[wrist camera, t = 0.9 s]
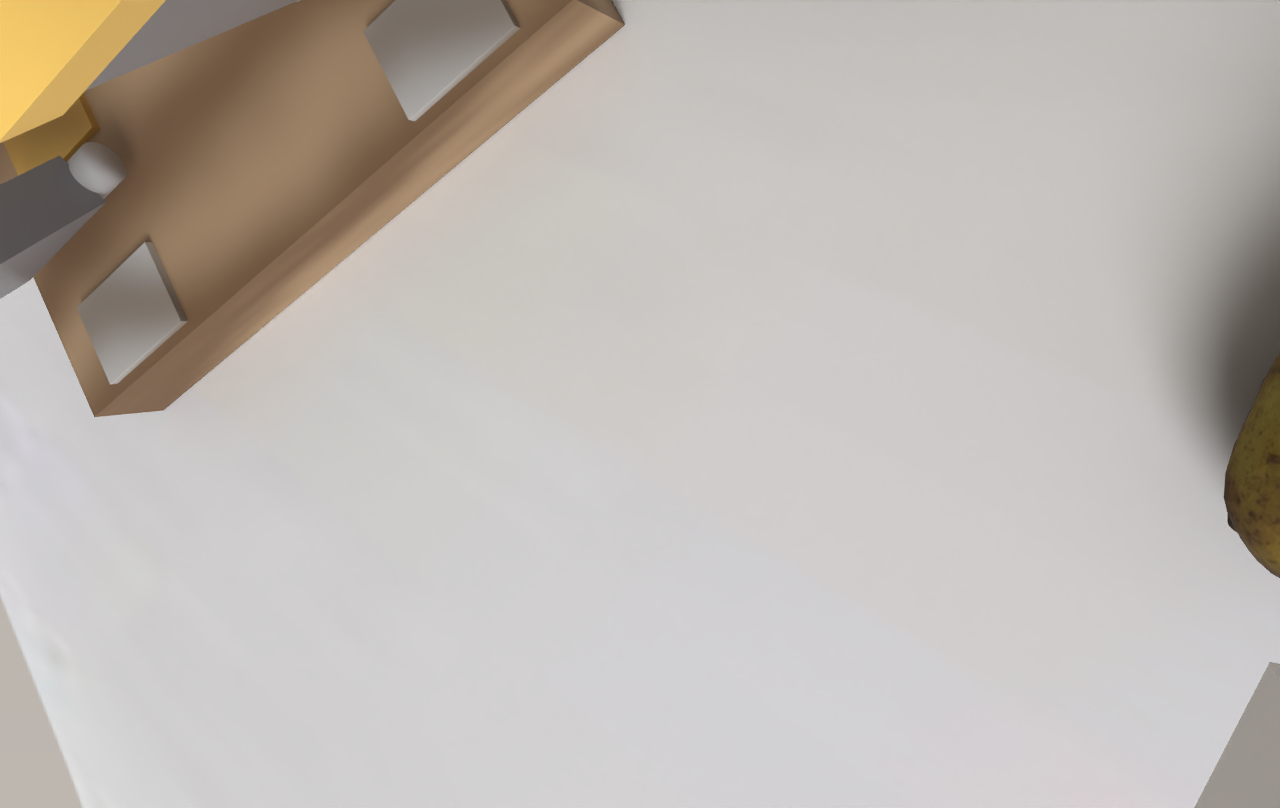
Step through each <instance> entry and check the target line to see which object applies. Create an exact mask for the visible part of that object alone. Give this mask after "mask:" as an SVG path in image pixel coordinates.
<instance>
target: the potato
mask: <svg viewBox="0 0 1280 808" xmlns="http://www.w3.org/2000/svg"><path fill="white" fill-rule="evenodd" d="M1224 500H1225V504H1226V508H1227V512H1228V524H1229V526H1230V527H1231V528H1232V529H1233V530H1234V531H1236V532H1237V533H1238V534H1239V536H1240V538H1241V539H1242V541H1243V542H1244V544H1245V545H1246V547H1247V548H1248V550H1249V551H1250V552H1251V554H1252V555H1253V556H1254V557H1255V558H1256V560H1257V561H1258V562H1260V563H1261V564H1262V565H1263V566H1264V567H1265V568H1266V569H1267V570H1268V571H1270V572H1271V573H1272V574H1274V575H1275V576H1277V577H1279V578H1280V354H1279V355H1278V356H1277V358H1276V360H1275V362H1274V364H1273V366H1272V367H1271V369H1270V371H1269V373H1268V374H1267V376H1266V377H1265V379H1264V380H1263V382H1262V385H1261V387H1260V390H1259V392H1258V395H1257V397H1256V400H1255V402H1254V404H1253V406H1252V408H1251V410H1250V412H1249V414H1248V417H1247V419H1246V421H1245V423H1244V425H1243V427H1242V429H1241V431H1240V434H1239V436H1238V438H1237V440H1236V442H1235V445H1234V447H1233V451H1232V454H1231V457H1230V460H1229V464H1228V467H1227V470H1226V475H1225V489H1224Z"/></svg>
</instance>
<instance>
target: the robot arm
mask: <svg viewBox="0 0 1280 808" xmlns="http://www.w3.org/2000/svg"><path fill="white" fill-rule="evenodd" d="M1195 808H1280V664H1277V663H1272V662H1270V663H1269V665H1268V667H1267V669H1266V671H1265V672H1264V674H1263V676H1262V678H1261V680H1260V682H1259V684H1258V686H1257V688H1256V690H1255V692H1254V694H1253V696H1252V698H1251V700H1250V701H1249V703H1248V705H1247V707H1246V709H1245V711H1244V713H1243V715H1242V717H1241V719H1240V721H1239V723H1238V725H1237V727H1236V728H1235V730H1234V732H1233V734H1232V736H1231V738H1230V740H1229V742H1228V744H1227V746H1226V748H1225V750H1224V752H1223V754H1222V755H1221V757H1220V759H1219V761H1218V763H1217V765H1216V767H1215V769H1214V771H1213V773H1212V775H1211V777H1210V779H1209V781H1208V782H1207V784H1206V786H1205V788H1204V790H1203V792H1202V794H1201V796H1200V798H1199V800H1198V802H1197V804H1196V806H1195Z"/></svg>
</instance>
